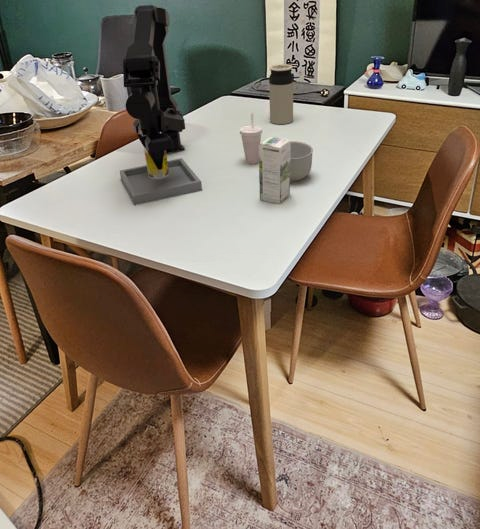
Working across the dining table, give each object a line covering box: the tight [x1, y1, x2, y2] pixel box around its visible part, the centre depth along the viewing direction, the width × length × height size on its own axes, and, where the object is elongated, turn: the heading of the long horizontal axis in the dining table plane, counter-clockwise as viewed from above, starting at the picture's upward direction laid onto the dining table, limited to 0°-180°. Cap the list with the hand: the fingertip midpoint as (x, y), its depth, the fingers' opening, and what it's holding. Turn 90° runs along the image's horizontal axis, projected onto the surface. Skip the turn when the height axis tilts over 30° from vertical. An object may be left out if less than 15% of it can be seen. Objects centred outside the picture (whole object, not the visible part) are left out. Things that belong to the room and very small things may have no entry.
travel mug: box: [268, 63, 294, 125], centre depth 166 cm, size 8×8×18 cm
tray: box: [119, 157, 203, 206], centre depth 132 cm, size 18×18×2 cm
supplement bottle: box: [143, 147, 169, 179], centre depth 129 cm, size 6×6×10 cm
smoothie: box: [239, 112, 263, 165], centre depth 138 cm, size 6×6×14 cm
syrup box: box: [258, 136, 292, 205], centre depth 119 cm, size 6×6×14 cm
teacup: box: [290, 140, 314, 182], centre depth 130 cm, size 14×11×8 cm
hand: (157, 165), depth 130 cm, fingers closed on supplement bottle, 5 cm apart
